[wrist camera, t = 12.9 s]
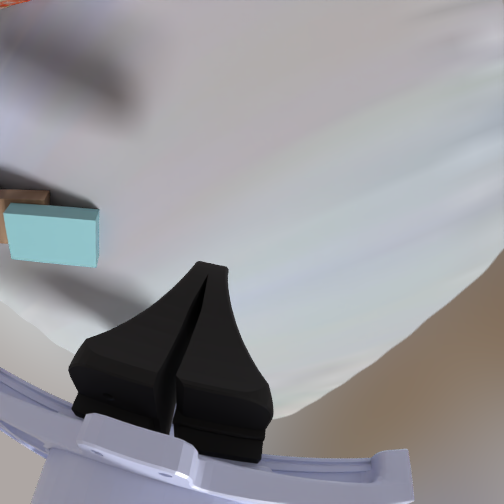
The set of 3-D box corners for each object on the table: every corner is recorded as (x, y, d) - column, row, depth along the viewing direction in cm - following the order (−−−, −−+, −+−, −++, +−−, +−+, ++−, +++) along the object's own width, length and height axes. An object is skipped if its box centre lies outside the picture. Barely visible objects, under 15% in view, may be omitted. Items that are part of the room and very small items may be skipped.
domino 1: (44, 199, 22) (-33, 198, 18) (48, 246, 25) (-24, 241, 21) (49, 190, 23) (-26, 189, 20) (52, 235, 26) (-18, 231, 23)
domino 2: (95, 220, 23) (3, 213, 19) (96, 267, 25) (11, 259, 22) (99, 209, 24) (10, 202, 21) (99, 255, 27) (17, 247, 24)
